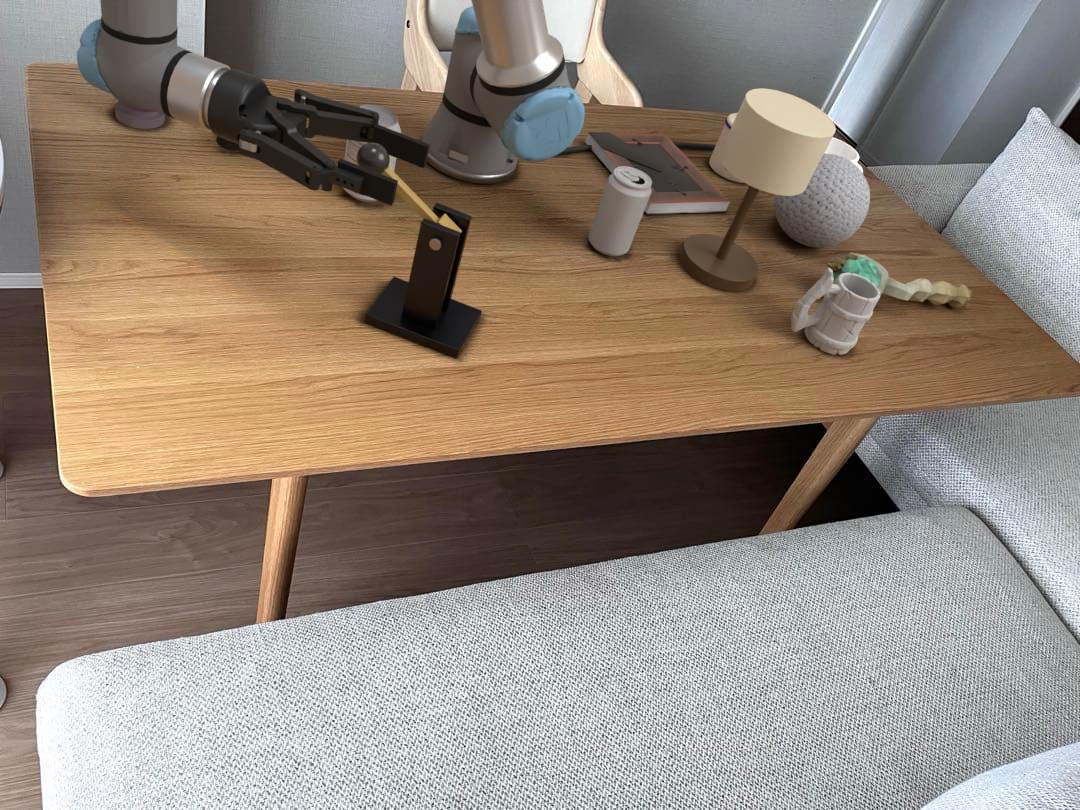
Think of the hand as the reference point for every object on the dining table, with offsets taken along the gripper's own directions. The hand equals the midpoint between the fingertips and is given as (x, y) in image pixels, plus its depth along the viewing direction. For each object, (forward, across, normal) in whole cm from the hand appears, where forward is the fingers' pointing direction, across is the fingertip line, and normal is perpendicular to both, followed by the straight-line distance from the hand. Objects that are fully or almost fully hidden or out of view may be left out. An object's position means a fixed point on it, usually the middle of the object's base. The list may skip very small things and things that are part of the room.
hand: (411, 174), depth 100 cm
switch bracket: (+5, 0, -18) cm, 19 cm away
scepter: (+68, -50, -19) cm, 86 cm away
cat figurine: (-45, -19, -19) cm, 52 cm away
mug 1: (+54, -74, -19) cm, 93 cm away
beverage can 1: (-12, -22, -19) cm, 31 cm away
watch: (-32, -22, -19) cm, 43 cm away
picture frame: (+25, -59, -19) cm, 67 cm away
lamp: (+39, -38, -18) cm, 58 cm away
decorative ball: (+52, -58, -19) cm, 80 cm away
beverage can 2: (+22, -32, -19) cm, 43 cm away
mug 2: (+55, -29, -19) cm, 65 cm away
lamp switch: (-1, 0, -4) cm, 4 cm away
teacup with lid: (+39, -74, -19) cm, 86 cm away
